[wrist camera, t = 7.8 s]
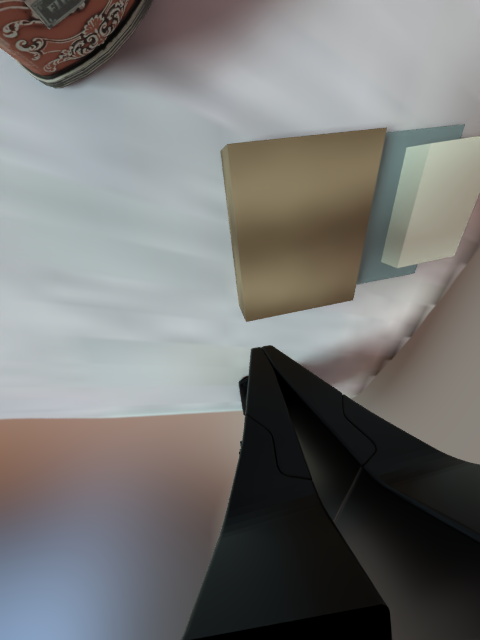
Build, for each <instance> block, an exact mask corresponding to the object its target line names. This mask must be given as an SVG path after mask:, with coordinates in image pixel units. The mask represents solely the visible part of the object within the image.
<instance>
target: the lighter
mask: <svg viewBox="0 0 480 640" xmlns="http://www.w3.org/2000/svg"><path fill="white" fill-rule="evenodd" d="M152 1H153V0H0V48H1V49H3V50H4V51H5V52H7V53H8V54H9V55H11V56H12V57H13V58H14V59H15V60H16V62H17V63H18V64H19V65H20V66H21V67H22V68H23V69H24V70H25V71H26V72H28V73H29V74H30V75H32V76H33V77H35V78H36V79H37V80H39V81H40V82H42V83H43V84H45V85H47V86H50V87H53V88H61V87H65V86H67V85H69V84H71V83H73V82H75V81H77V80H79V79H81V78H83V77H85V76H87V75H89V74H90V73H91V72H93V71H94V70H95V69H97V68H98V67H99V66H101V65H102V64H104V63H105V62H106V61H108V60H109V59H110V58H112V57H113V55H114V54H115V53H116V52H117V51H118V50H119V49H120V47H121V46H122V45H123V44H124V43H125V42H126V41H127V40H128V38H129V37H130V36H131V35H132V34H133V33H134V31H135V29H136V28H137V26H138V25H139V23H140V21H141V20H142V18H143V17H144V15H145V14H146V12H147V10H148V9H149V7H150V6H151V4H152Z"/></svg>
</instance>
